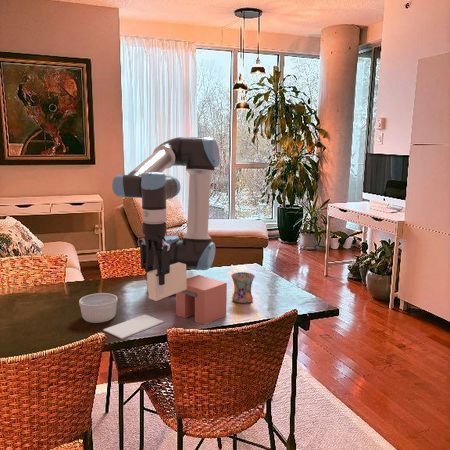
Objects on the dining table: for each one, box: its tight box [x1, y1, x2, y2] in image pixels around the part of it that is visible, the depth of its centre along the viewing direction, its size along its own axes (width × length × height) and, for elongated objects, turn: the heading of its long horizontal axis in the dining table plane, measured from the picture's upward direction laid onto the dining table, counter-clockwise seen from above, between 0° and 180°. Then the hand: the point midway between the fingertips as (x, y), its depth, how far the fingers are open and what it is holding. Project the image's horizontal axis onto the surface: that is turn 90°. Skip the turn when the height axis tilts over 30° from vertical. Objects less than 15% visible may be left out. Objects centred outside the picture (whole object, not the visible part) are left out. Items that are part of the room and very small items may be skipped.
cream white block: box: [147, 262, 187, 302], centre depth 150 cm, size 4×14×9 cm, turn 140°
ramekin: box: [78, 292, 118, 324], centre depth 161 cm, size 13×13×7 cm
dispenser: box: [175, 274, 228, 326], centre depth 164 cm, size 14×13×12 cm
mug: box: [230, 271, 256, 304], centre depth 181 cm, size 12×9×11 cm
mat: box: [103, 314, 165, 340], centre depth 154 cm, size 10×18×1 cm, turn 140°
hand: (155, 292), depth 146 cm, fingers closed on cream white block, 3 cm apart
